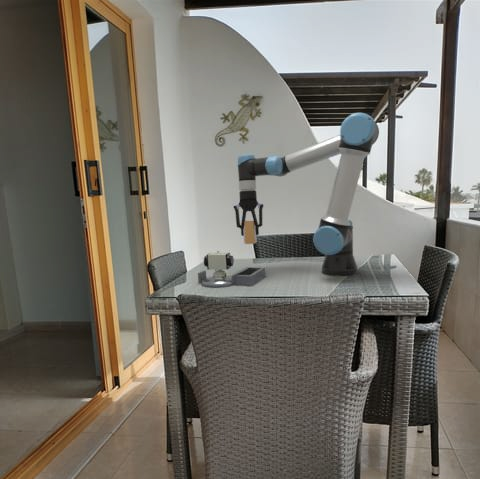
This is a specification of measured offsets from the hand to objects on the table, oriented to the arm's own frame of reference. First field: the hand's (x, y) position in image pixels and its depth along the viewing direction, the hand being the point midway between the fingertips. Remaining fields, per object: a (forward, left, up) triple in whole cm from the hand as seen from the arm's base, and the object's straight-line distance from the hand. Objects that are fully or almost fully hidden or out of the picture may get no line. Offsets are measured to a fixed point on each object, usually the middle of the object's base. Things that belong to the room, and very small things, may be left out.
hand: (250, 242), depth 160 cm
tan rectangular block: (0, 0, 0) cm, 0 cm away
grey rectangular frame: (-3, +12, -15) cm, 19 cm away
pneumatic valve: (+8, +17, -13) cm, 23 cm away
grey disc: (+8, +18, -15) cm, 24 cm away
